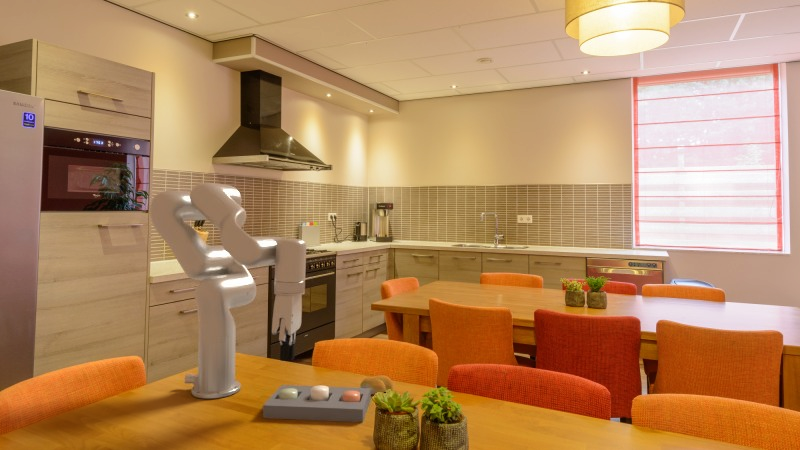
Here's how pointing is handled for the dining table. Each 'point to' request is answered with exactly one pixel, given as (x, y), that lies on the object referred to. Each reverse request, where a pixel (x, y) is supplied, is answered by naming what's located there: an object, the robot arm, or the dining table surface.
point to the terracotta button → (351, 396)
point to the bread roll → (377, 384)
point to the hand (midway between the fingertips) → (287, 359)
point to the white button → (320, 393)
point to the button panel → (318, 405)
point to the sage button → (288, 393)
